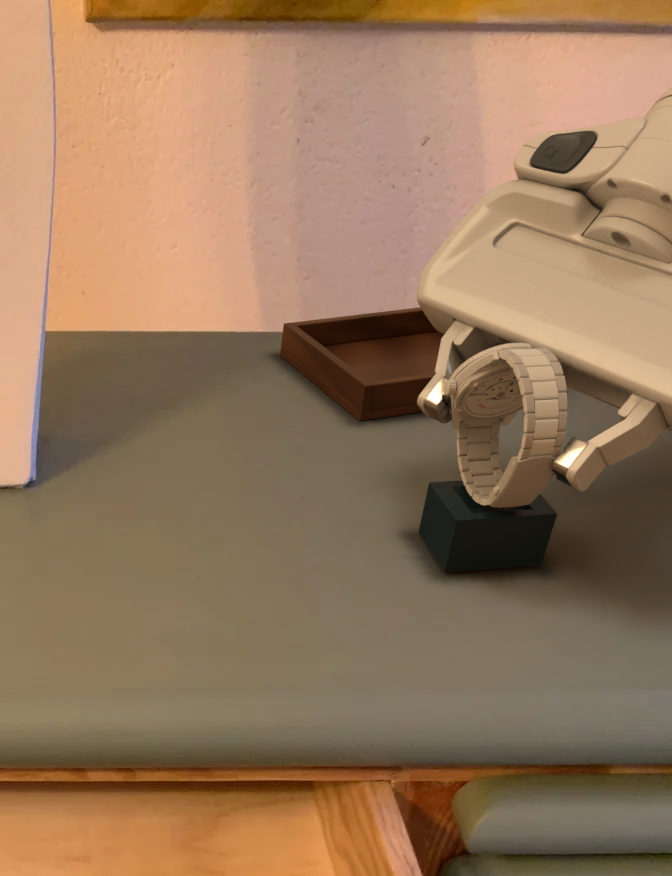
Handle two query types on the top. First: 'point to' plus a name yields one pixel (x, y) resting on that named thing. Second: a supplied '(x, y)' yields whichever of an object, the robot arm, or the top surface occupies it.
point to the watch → (498, 462)
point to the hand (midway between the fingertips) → (493, 445)
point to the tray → (366, 359)
